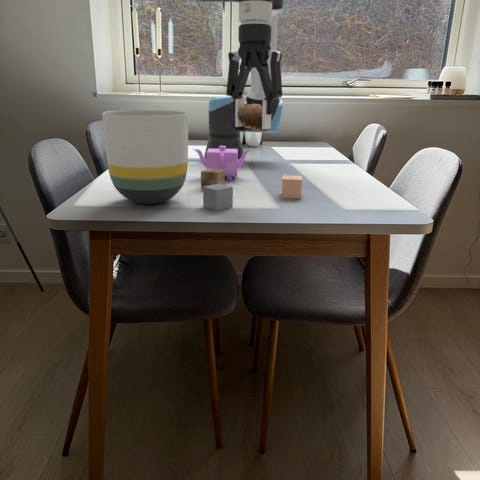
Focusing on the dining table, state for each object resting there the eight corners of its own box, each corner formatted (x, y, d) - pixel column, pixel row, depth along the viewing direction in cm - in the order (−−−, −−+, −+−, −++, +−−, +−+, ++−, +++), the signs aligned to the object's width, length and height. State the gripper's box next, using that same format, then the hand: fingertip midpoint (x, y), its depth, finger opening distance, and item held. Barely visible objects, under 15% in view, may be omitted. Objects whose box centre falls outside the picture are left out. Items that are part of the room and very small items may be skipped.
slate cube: (203, 206, 111) (203, 186, 109) (219, 203, 114) (219, 183, 113) (216, 211, 108) (216, 190, 106) (232, 207, 111) (232, 187, 109)
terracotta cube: (281, 197, 120) (282, 179, 119) (282, 193, 125) (282, 175, 123) (300, 198, 120) (302, 179, 118) (300, 194, 124) (301, 175, 123)
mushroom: (235, 113, 116) (244, 92, 111) (263, 125, 118) (274, 106, 113) (230, 131, 111) (240, 111, 106) (260, 144, 112) (271, 124, 108)
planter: (196, 209, 108) (194, 115, 101) (110, 215, 103) (102, 116, 96) (182, 190, 126) (180, 109, 119) (108, 194, 121) (101, 110, 113)
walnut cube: (201, 188, 129) (200, 171, 127) (208, 185, 133) (208, 168, 132) (217, 190, 127) (217, 172, 125) (224, 187, 131) (224, 169, 130)
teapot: (250, 173, 150) (251, 143, 147) (251, 182, 138) (252, 149, 134) (195, 172, 150) (195, 142, 147) (191, 181, 138) (190, 148, 134)
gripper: (210, 24, 107) (211, 125, 115) (284, 19, 96) (279, 132, 104) (230, 27, 113) (229, 123, 121) (302, 23, 102) (296, 129, 109)
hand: (252, 127), depth 112 cm, fingers closed on mushroom, 7 cm apart
